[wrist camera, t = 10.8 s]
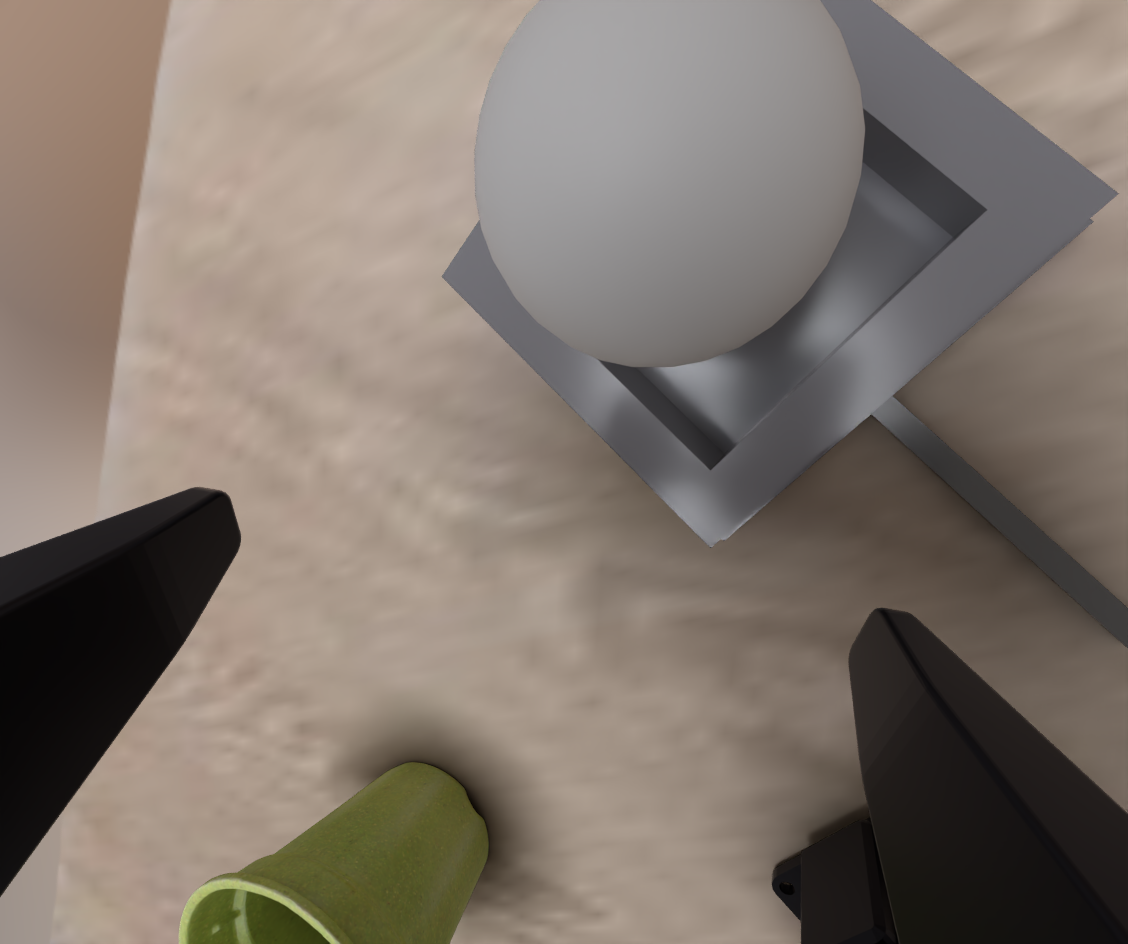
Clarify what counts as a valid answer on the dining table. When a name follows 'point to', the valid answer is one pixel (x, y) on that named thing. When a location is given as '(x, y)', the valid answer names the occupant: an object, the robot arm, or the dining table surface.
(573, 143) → the lightbulb
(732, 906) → the dining table surface
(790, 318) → the grey square pan
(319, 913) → the plant pot
